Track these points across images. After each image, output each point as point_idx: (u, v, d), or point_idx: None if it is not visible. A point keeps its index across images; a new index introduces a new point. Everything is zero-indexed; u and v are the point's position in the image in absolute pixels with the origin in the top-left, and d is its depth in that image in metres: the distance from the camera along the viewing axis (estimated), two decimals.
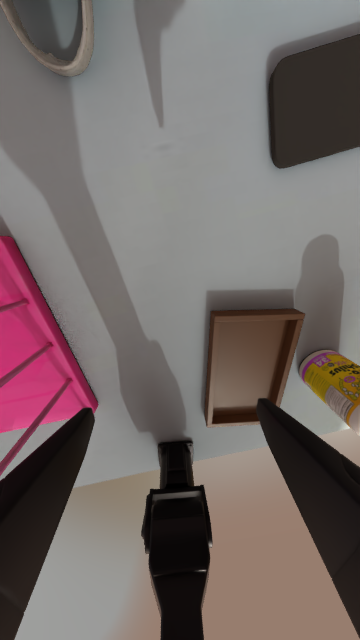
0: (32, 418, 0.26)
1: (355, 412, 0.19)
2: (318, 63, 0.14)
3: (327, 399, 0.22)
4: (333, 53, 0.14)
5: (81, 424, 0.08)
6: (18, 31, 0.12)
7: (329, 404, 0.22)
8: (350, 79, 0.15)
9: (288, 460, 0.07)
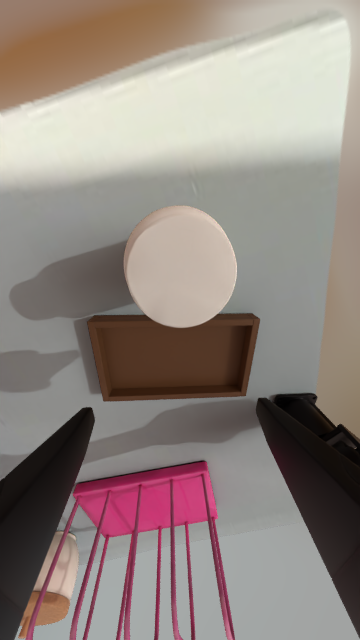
0: None
1: None
2: None
3: None
4: None
5: (81, 424, 0.08)
6: None
7: None
8: None
9: (288, 460, 0.07)
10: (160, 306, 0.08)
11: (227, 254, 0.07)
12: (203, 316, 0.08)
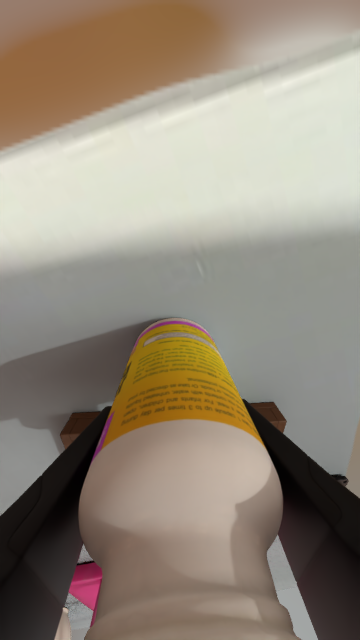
0: None
1: None
2: None
3: None
4: None
5: None
6: None
7: None
8: None
9: None
10: None
11: None
12: None
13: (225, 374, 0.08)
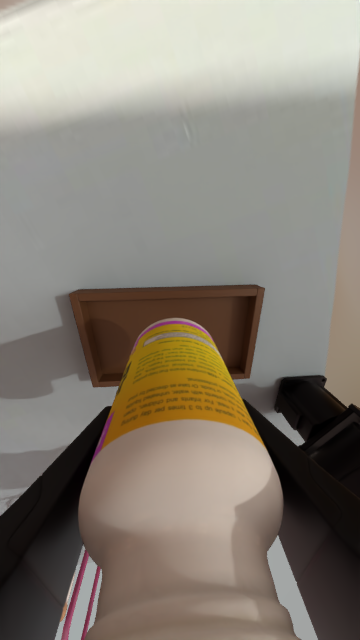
0: None
1: None
2: None
3: None
4: None
5: None
6: None
7: None
8: None
9: None
10: None
11: None
12: None
13: (225, 374, 0.08)
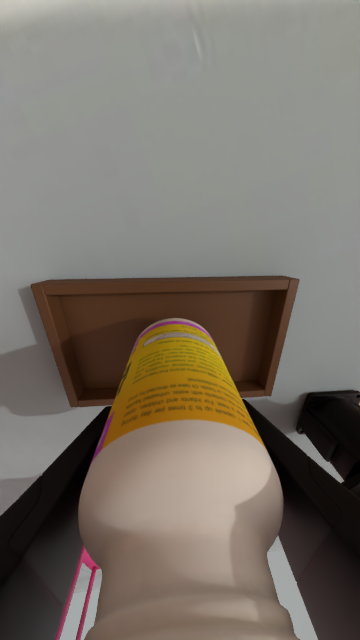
0: None
1: None
2: None
3: None
4: None
5: None
6: None
7: None
8: None
9: None
10: None
11: None
12: None
13: (225, 374, 0.08)
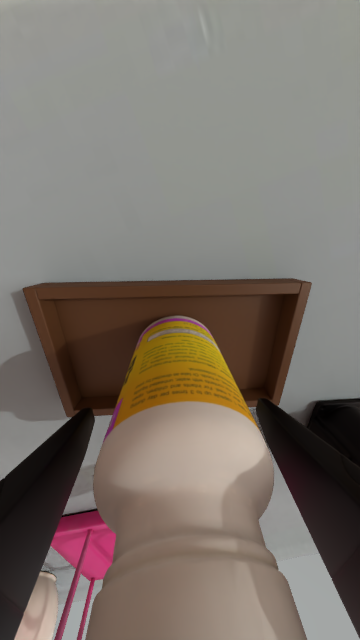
0: None
1: None
2: None
3: None
4: None
5: (81, 424, 0.08)
6: None
7: None
8: None
9: (288, 460, 0.07)
10: None
11: None
12: None
13: (223, 366, 0.09)
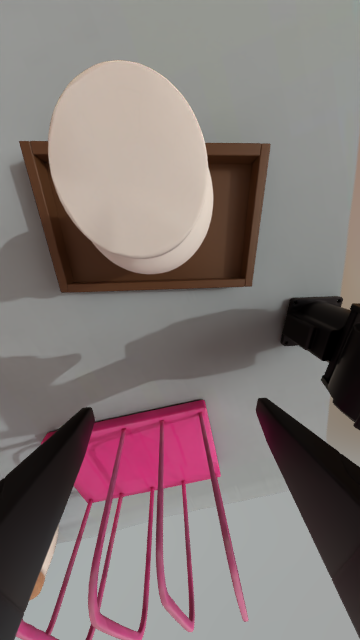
0: (205, 449, 0.28)
1: (141, 272, 0.10)
2: None
3: None
4: None
5: (81, 424, 0.08)
6: None
7: None
8: None
9: (288, 460, 0.07)
10: (105, 223, 0.05)
11: (192, 133, 0.05)
12: (167, 239, 0.06)
13: None
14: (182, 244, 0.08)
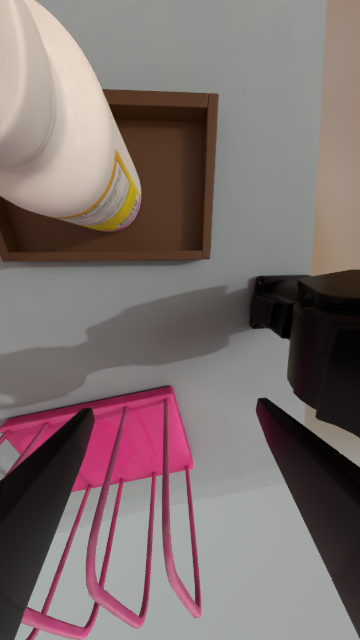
0: (174, 439, 0.27)
1: (43, 214, 0.09)
2: None
3: (95, 223, 0.12)
4: None
5: (81, 424, 0.08)
6: None
7: (103, 218, 0.11)
8: None
9: (288, 460, 0.07)
10: None
11: None
12: None
13: None
14: (68, 167, 0.07)
